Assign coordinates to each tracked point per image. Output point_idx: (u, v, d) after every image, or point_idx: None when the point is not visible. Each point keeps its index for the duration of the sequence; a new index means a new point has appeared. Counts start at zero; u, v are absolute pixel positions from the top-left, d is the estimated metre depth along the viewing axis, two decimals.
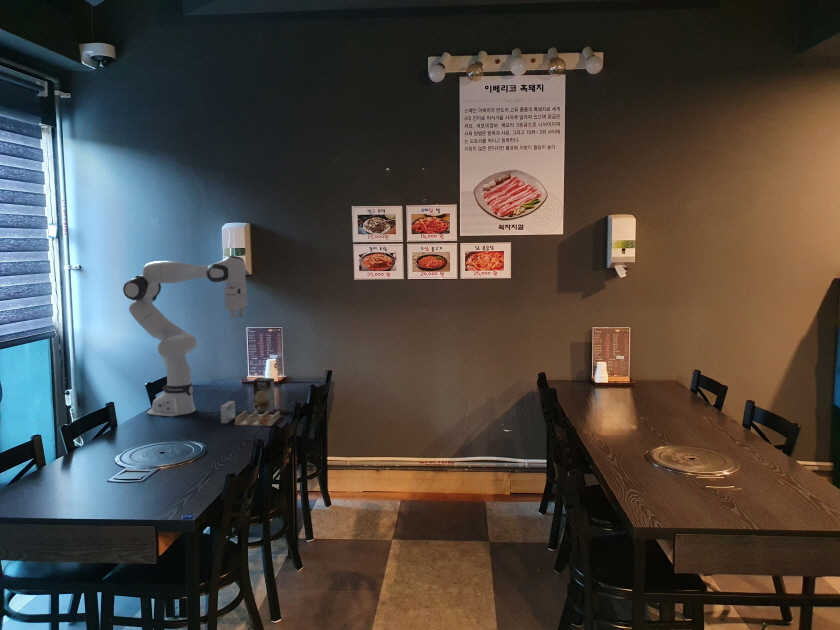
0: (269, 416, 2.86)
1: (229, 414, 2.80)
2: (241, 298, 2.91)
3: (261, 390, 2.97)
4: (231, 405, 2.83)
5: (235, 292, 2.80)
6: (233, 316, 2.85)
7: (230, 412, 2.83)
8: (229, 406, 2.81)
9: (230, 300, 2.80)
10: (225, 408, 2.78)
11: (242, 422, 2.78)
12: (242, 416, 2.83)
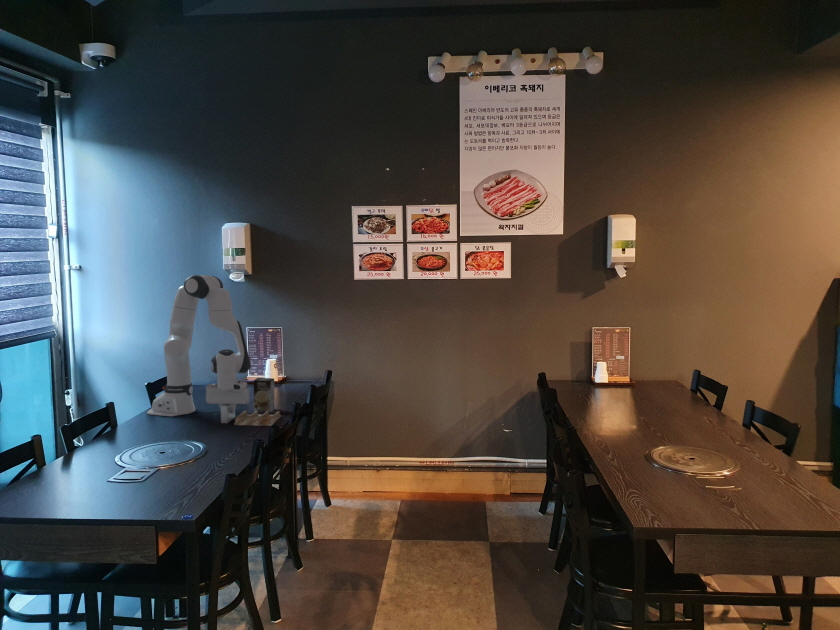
0: (269, 416, 2.86)
1: (229, 414, 2.80)
2: None
3: (261, 390, 2.97)
4: (231, 405, 2.83)
5: (246, 385, 2.84)
6: (234, 410, 2.83)
7: None
8: (229, 406, 2.81)
9: (248, 394, 2.82)
10: (225, 408, 2.78)
11: (242, 422, 2.78)
12: (242, 416, 2.83)
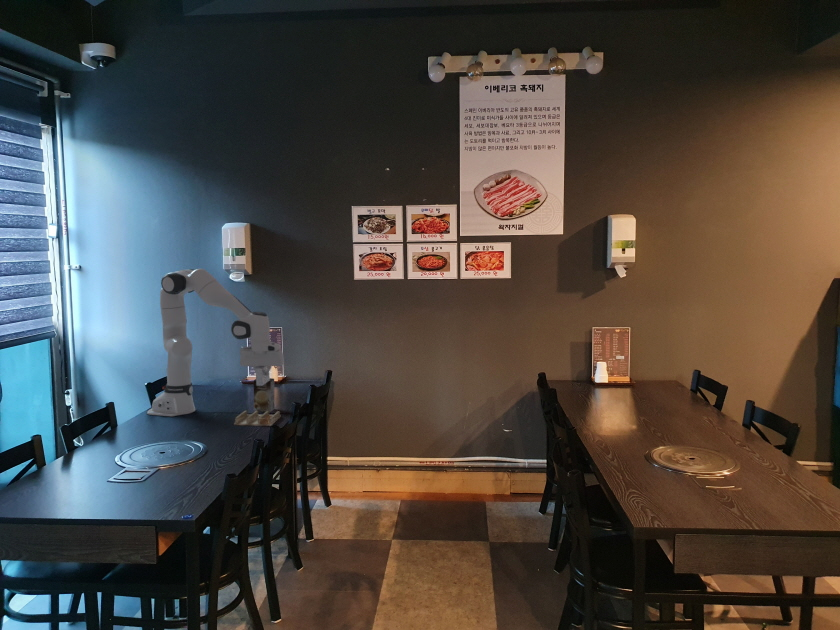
0: (269, 416, 2.86)
1: (264, 376, 2.77)
2: None
3: (261, 390, 2.97)
4: (265, 367, 2.80)
5: (280, 346, 2.80)
6: (268, 372, 2.79)
7: None
8: (264, 368, 2.77)
9: (282, 355, 2.78)
10: (260, 370, 2.74)
11: (242, 422, 2.78)
12: (242, 416, 2.83)
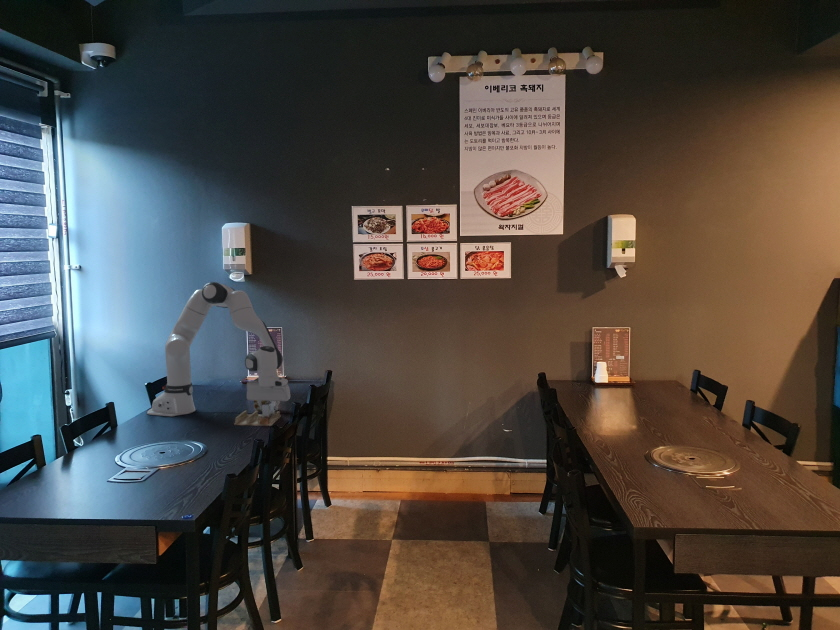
0: None
1: (270, 412, 2.79)
2: None
3: None
4: (272, 404, 2.82)
5: (287, 381, 2.82)
6: (277, 407, 2.81)
7: (271, 410, 2.81)
8: (270, 405, 2.80)
9: (289, 390, 2.81)
10: (267, 407, 2.76)
11: (242, 422, 2.78)
12: (242, 416, 2.83)
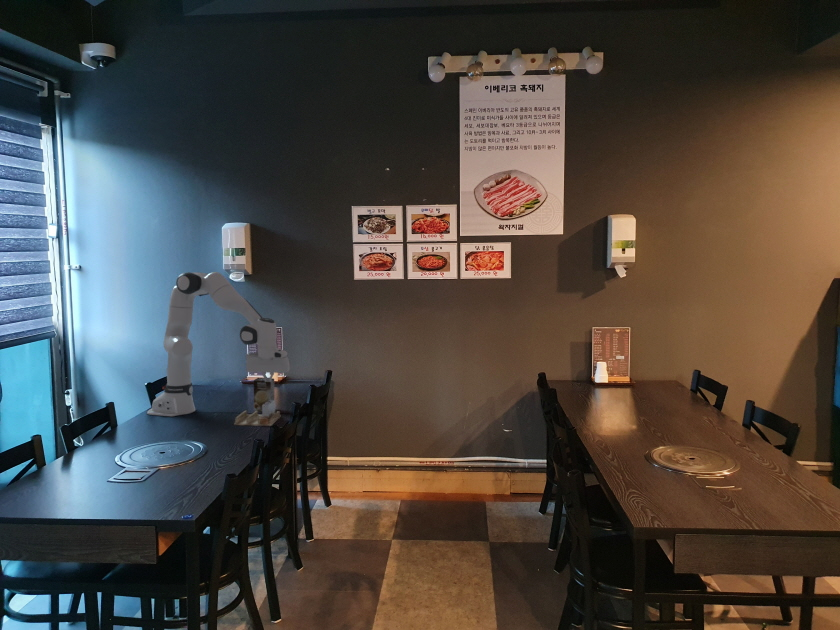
0: None
1: (270, 412, 2.79)
2: None
3: (261, 390, 2.97)
4: (272, 404, 2.82)
5: None
6: (271, 379, 2.80)
7: (271, 410, 2.81)
8: (270, 405, 2.80)
9: (288, 362, 2.79)
10: (267, 407, 2.76)
11: (242, 422, 2.78)
12: (242, 416, 2.83)
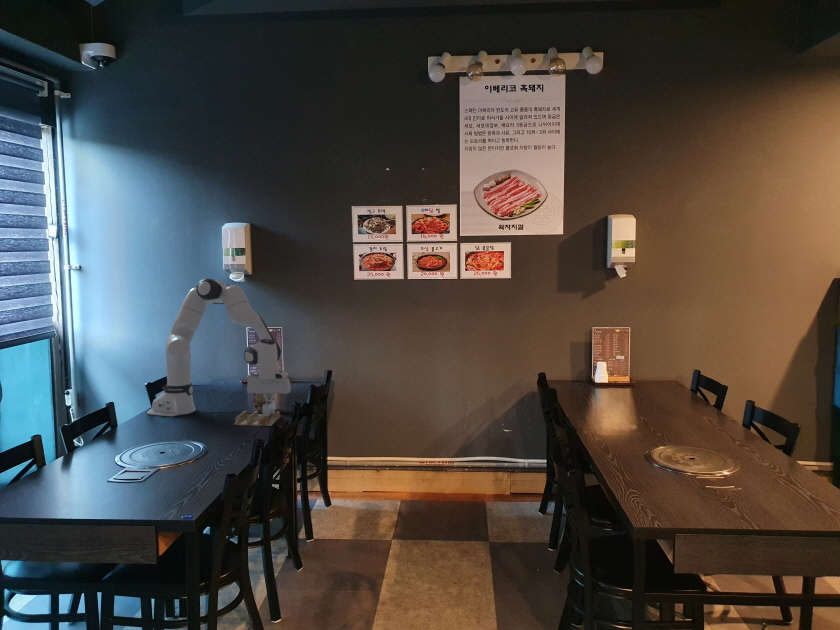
0: None
1: (270, 412, 2.79)
2: None
3: None
4: (272, 404, 2.82)
5: (287, 374, 2.82)
6: (272, 399, 2.81)
7: (271, 410, 2.81)
8: (270, 405, 2.80)
9: (289, 383, 2.80)
10: (267, 407, 2.76)
11: (242, 422, 2.78)
12: (242, 416, 2.83)
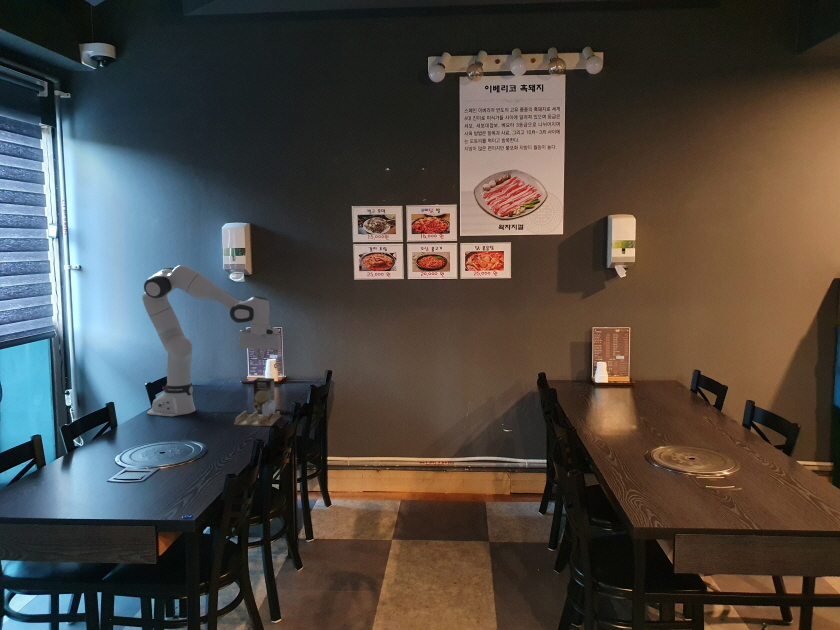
0: None
1: (270, 412, 2.79)
2: None
3: (261, 390, 2.97)
4: (272, 404, 2.82)
5: (278, 331, 2.89)
6: (262, 355, 2.89)
7: (271, 410, 2.81)
8: (270, 405, 2.80)
9: (280, 340, 2.88)
10: (267, 407, 2.76)
11: (242, 422, 2.78)
12: (242, 416, 2.83)
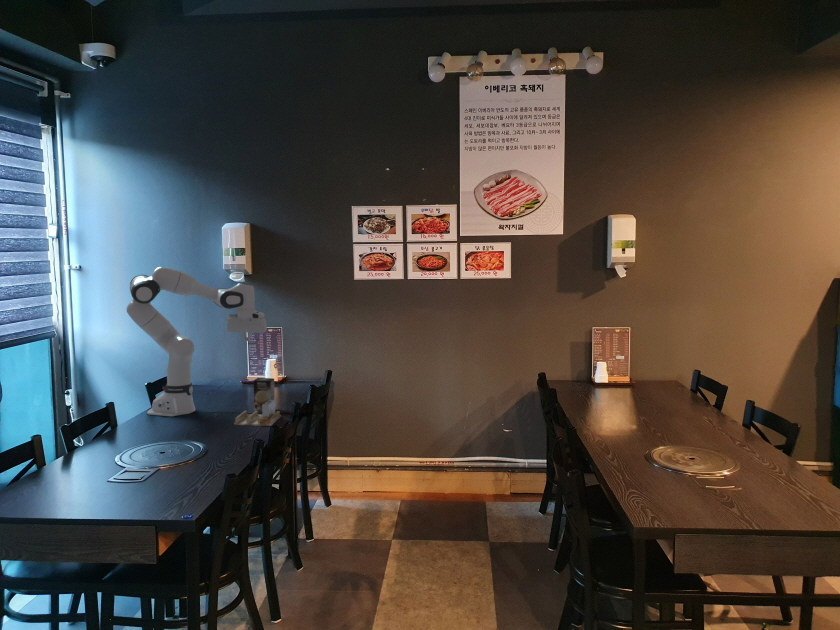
0: None
1: (270, 412, 2.79)
2: None
3: (261, 390, 2.97)
4: (272, 404, 2.82)
5: (264, 315, 3.07)
6: (249, 338, 3.06)
7: (271, 410, 2.81)
8: (270, 405, 2.80)
9: (265, 323, 3.05)
10: (267, 407, 2.76)
11: (242, 422, 2.78)
12: (242, 416, 2.83)
